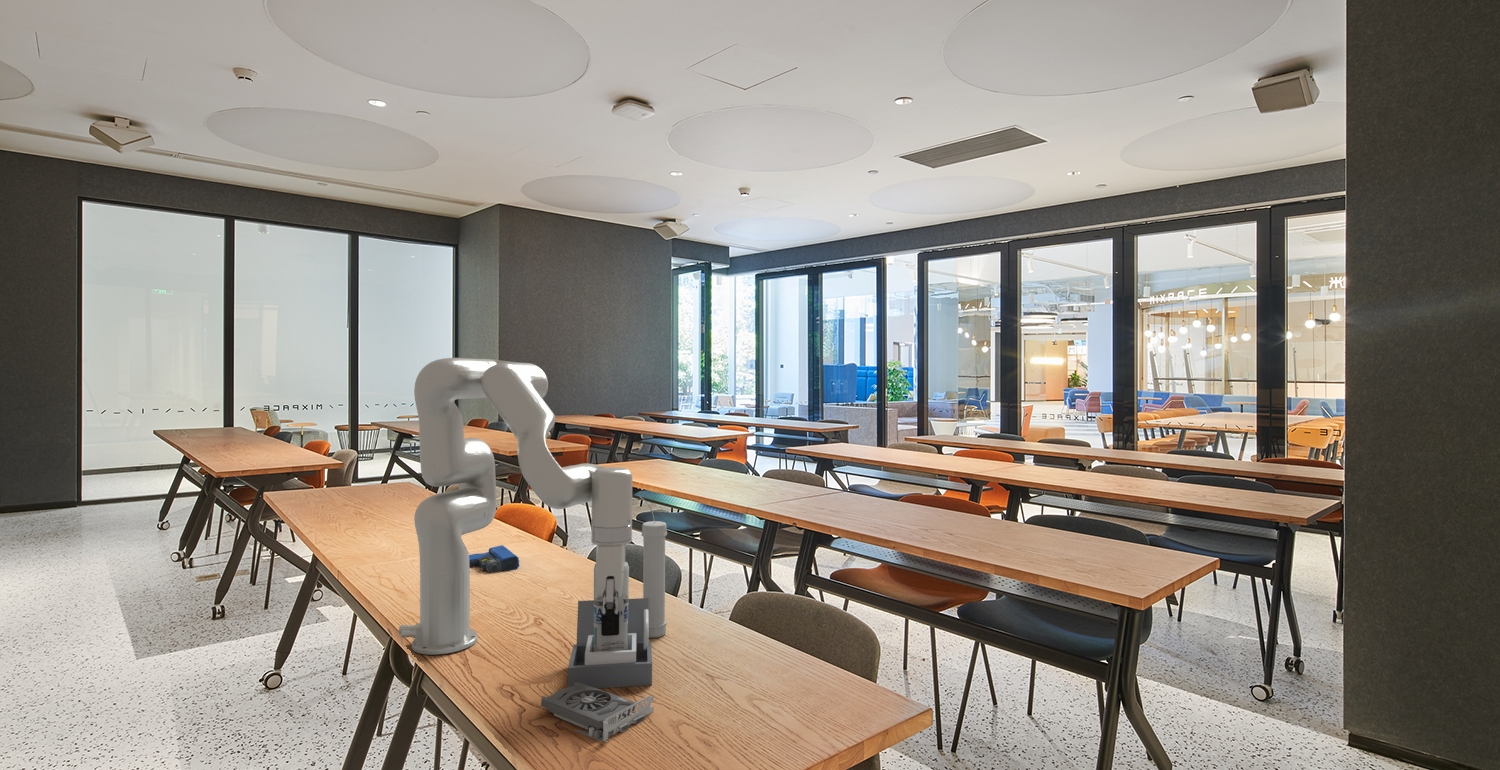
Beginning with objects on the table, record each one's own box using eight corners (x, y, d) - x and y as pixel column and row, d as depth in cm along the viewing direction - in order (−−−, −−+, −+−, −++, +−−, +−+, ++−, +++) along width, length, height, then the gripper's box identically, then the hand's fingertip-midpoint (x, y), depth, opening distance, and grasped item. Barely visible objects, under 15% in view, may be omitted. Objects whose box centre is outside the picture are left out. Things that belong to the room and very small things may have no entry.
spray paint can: (590, 664, 135) (591, 561, 135) (624, 660, 138) (625, 558, 137) (595, 678, 129) (596, 570, 129) (630, 674, 131) (631, 567, 131)
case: (567, 690, 127) (567, 628, 127) (575, 654, 143) (575, 599, 142) (651, 684, 129) (652, 624, 129) (650, 650, 145) (650, 596, 145)
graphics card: (658, 695, 119) (606, 722, 109) (658, 717, 119) (606, 747, 109) (588, 671, 128) (535, 694, 118) (588, 692, 128) (534, 717, 118)
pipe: (661, 639, 151) (662, 499, 150) (634, 637, 152) (634, 498, 152) (669, 630, 156) (670, 495, 156) (643, 627, 158) (643, 494, 157)
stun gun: (465, 567, 196) (519, 554, 204) (453, 554, 208) (505, 543, 217) (466, 582, 196) (521, 568, 204) (455, 568, 209) (506, 556, 217)
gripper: (594, 524, 141) (593, 612, 141) (588, 545, 124) (587, 646, 124) (632, 523, 142) (631, 611, 142) (631, 544, 125) (630, 644, 125)
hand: (611, 626), depth 133 cm, fingers open, 6 cm apart
